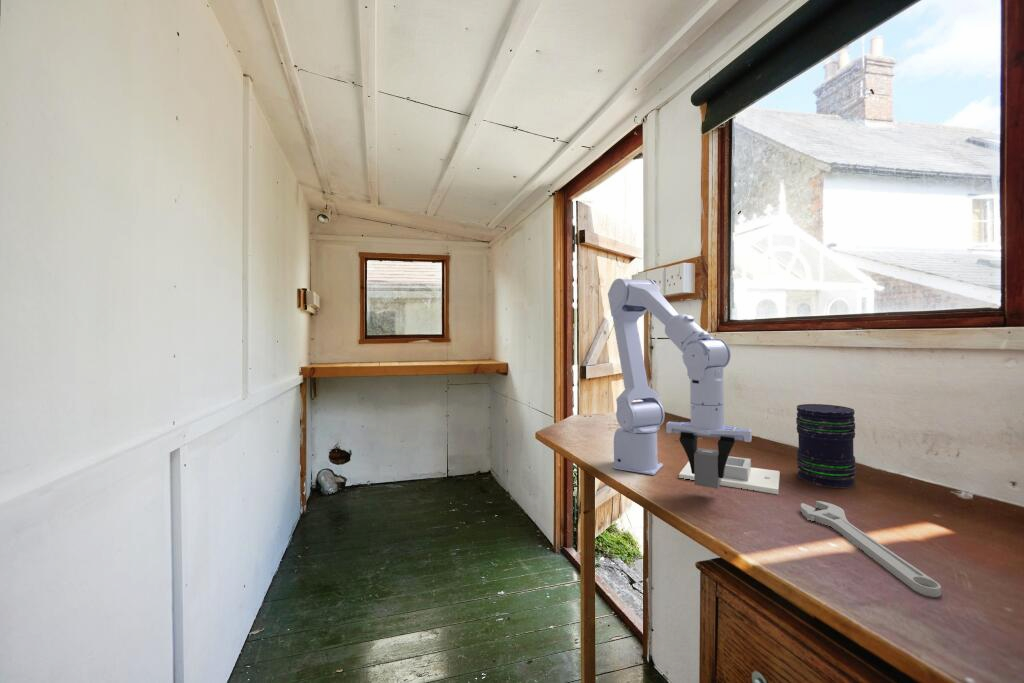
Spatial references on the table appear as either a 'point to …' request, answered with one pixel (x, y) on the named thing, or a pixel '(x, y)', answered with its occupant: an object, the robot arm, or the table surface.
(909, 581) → the adjustable wrench
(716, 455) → the block
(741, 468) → the outlet plate
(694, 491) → the table surface
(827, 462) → the dark blue barrel
